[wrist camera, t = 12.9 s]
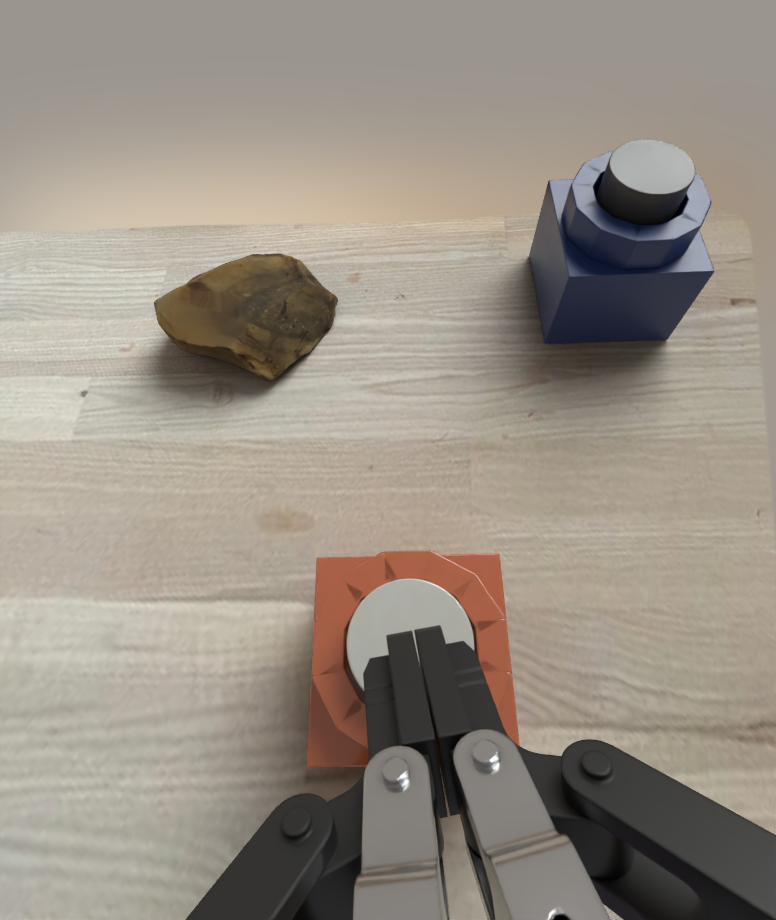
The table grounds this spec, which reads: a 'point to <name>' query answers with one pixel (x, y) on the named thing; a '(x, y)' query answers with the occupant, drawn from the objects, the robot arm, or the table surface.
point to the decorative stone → (250, 313)
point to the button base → (336, 598)
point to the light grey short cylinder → (402, 619)
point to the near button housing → (614, 264)
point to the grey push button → (645, 182)
